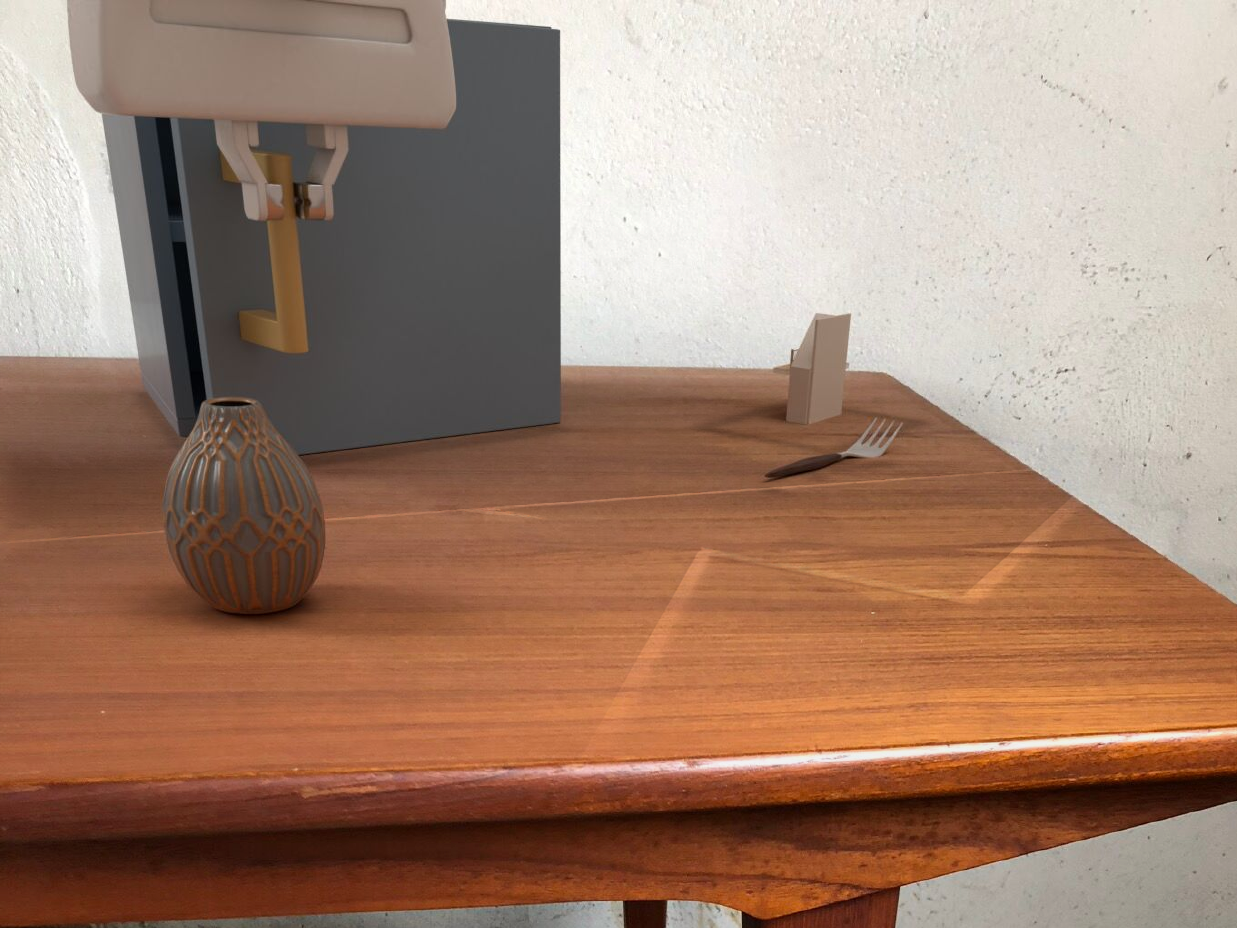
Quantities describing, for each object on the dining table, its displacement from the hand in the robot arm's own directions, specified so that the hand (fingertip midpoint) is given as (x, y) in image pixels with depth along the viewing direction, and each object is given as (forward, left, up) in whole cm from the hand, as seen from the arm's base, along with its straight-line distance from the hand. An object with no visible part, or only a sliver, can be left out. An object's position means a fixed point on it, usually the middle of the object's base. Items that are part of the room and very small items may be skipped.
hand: (290, 219), depth 75 cm
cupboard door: (+9, +6, -14) cm, 18 cm away
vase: (-8, -21, -14) cm, 27 cm away
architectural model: (+41, +10, -14) cm, 45 cm away
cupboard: (+7, +23, -14) cm, 28 cm away
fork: (+34, -4, -14) cm, 37 cm away
